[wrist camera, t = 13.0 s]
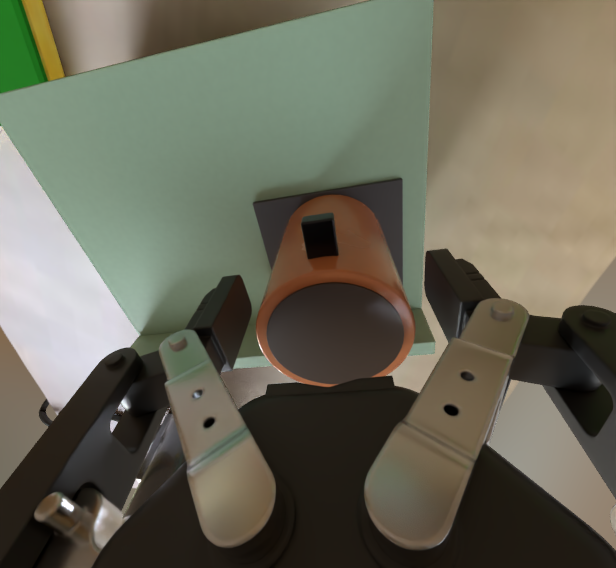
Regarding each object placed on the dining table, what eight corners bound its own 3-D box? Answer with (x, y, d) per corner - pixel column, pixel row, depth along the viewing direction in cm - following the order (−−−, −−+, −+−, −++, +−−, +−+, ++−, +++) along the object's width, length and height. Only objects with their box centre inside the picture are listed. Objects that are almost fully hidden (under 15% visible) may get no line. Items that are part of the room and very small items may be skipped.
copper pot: (298, 303, 19) (282, 412, 12) (267, 179, 15) (220, 247, 8) (384, 294, 18) (414, 406, 12) (378, 160, 14) (420, 219, 7)
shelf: (202, 265, 32) (121, 377, 20) (129, 94, 24) (-96, 99, 11) (389, 241, 29) (434, 354, 17) (383, 35, 21) (467, -49, 8)
